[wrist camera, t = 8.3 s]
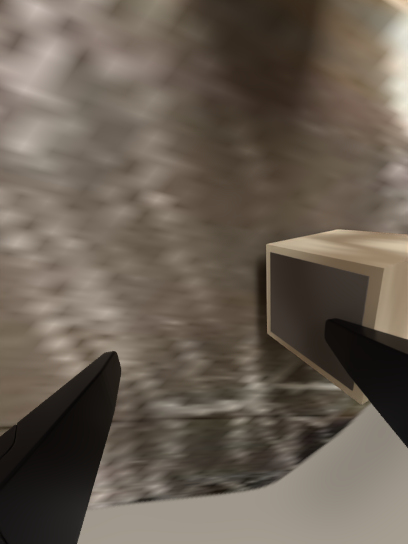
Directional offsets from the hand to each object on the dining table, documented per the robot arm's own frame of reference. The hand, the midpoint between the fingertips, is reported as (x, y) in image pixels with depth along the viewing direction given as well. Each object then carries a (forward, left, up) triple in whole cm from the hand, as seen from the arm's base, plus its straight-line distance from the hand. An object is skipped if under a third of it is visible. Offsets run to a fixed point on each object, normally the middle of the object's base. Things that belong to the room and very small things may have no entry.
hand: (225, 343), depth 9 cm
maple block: (+4, 0, -2) cm, 5 cm away
